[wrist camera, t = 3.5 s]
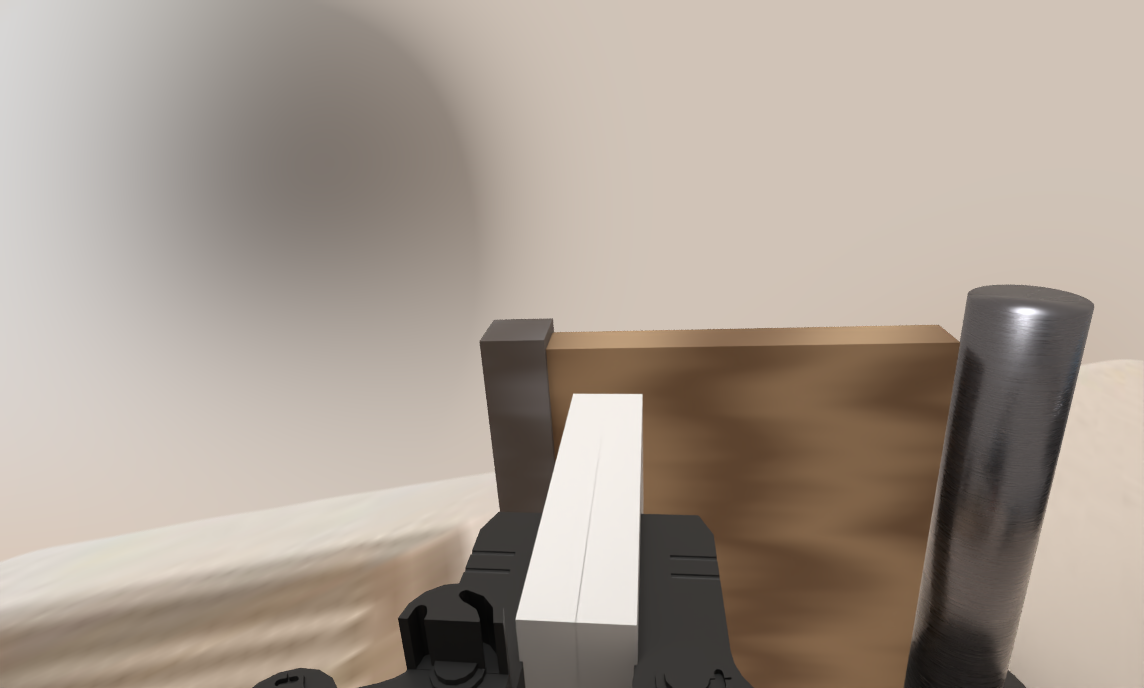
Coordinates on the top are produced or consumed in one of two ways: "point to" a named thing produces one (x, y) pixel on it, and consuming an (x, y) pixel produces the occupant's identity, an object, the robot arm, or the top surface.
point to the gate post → (994, 480)
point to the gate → (760, 470)
